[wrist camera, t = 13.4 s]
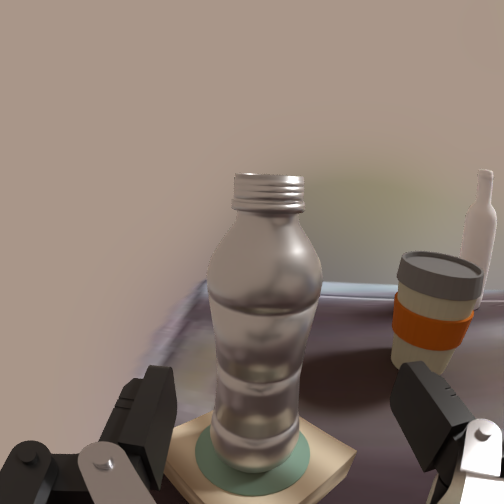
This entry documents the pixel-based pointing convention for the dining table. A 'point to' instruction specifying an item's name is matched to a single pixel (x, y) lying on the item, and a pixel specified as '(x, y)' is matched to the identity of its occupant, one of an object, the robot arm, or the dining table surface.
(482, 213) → the bottle
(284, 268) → the plastic bottle
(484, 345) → the dining table surface
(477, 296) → the reusable coffee cup
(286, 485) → the base block
